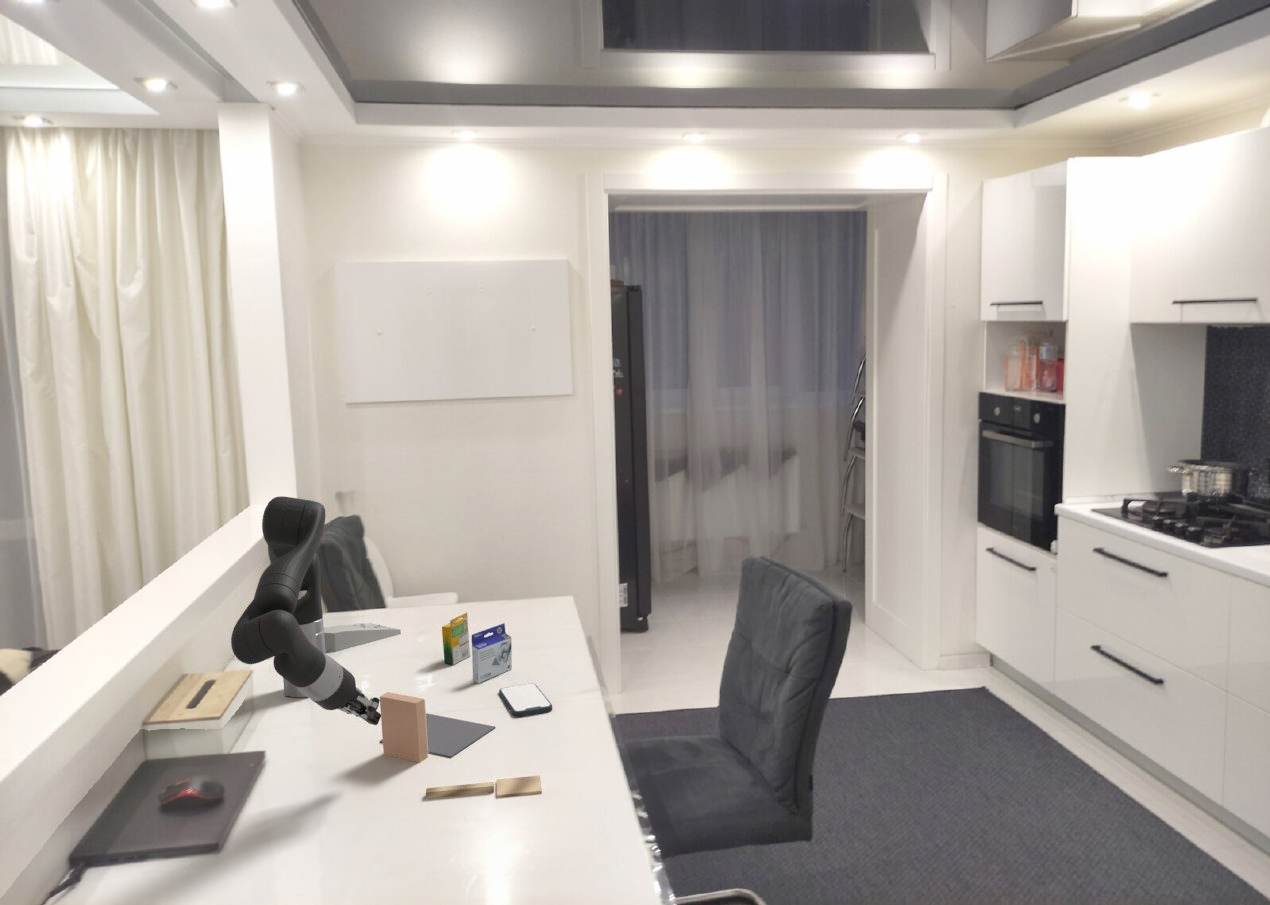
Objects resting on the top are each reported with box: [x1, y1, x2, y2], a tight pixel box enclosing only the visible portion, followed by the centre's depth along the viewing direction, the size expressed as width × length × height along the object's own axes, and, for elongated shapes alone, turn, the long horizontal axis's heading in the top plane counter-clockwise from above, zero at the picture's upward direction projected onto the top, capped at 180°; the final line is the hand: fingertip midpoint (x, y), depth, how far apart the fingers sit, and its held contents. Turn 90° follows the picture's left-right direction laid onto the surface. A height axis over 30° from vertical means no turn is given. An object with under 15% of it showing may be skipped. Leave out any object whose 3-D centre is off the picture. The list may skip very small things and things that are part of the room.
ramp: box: [324, 622, 402, 653], centre depth 261 cm, size 28×16×5 cm, turn 111°
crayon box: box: [441, 612, 471, 666], centre depth 243 cm, size 7×3×12 cm, turn 154°
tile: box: [379, 692, 429, 763], centre depth 190 cm, size 9×3×12 cm, turn 63°
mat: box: [379, 712, 496, 758], centre depth 199 cm, size 18×15×1 cm
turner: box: [425, 775, 543, 800], centre depth 175 cm, size 20×6×1 cm, turn 98°
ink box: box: [471, 622, 513, 684], centre depth 231 cm, size 12×2×12 cm, turn 143°
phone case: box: [498, 683, 553, 718], centre depth 216 cm, size 9×2×16 cm
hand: (376, 719), depth 183 cm, fingers closed
